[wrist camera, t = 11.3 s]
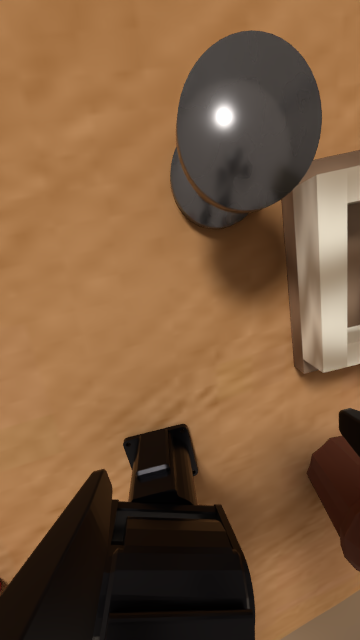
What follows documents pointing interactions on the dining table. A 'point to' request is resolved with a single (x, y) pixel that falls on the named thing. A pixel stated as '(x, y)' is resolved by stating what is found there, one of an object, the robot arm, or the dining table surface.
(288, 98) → the bobbin
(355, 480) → the muffin
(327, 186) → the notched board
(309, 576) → the dining table surface
